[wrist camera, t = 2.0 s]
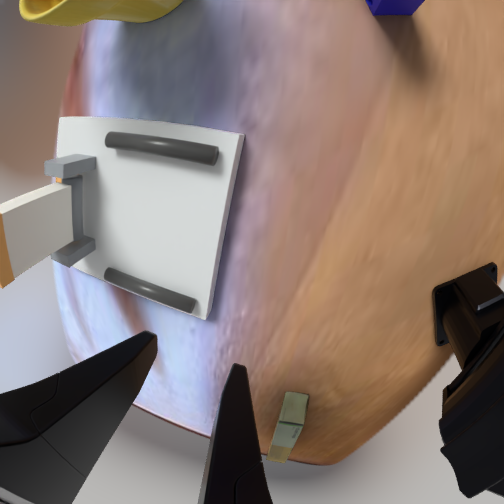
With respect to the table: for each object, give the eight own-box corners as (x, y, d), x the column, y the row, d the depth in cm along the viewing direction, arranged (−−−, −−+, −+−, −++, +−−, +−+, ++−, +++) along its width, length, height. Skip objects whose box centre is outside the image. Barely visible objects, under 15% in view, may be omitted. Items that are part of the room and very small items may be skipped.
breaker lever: (87, 176, 18) (-14, 216, 9) (88, 235, 20) (3, 291, 11) (72, 173, 18) (-25, 210, 9) (73, 230, 20) (-9, 281, 12)
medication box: (284, 388, 26) (277, 420, 22) (310, 392, 25) (306, 424, 21) (271, 437, 31) (265, 461, 27) (291, 440, 30) (286, 464, 27)
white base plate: (245, 134, 16) (220, 134, 12) (211, 309, 23) (189, 349, 18) (71, 116, 18) (28, 121, 13) (71, 255, 24) (38, 277, 20)
